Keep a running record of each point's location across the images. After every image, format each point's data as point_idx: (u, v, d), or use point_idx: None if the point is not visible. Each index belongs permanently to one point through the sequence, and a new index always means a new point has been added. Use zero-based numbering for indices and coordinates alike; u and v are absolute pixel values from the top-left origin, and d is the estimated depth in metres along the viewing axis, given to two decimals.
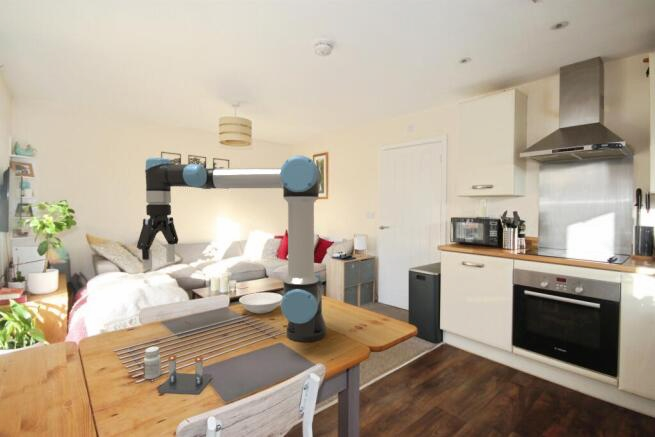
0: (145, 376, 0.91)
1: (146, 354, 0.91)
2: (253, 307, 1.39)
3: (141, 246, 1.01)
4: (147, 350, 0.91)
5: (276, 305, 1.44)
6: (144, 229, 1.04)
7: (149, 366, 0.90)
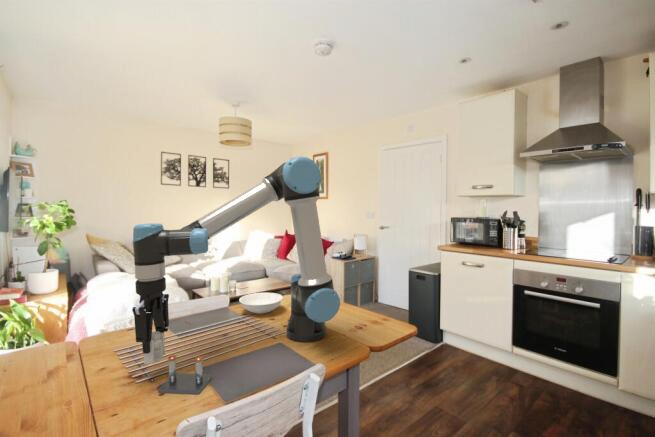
0: None
1: None
2: (253, 307, 1.39)
3: (141, 341, 0.86)
4: None
5: (276, 305, 1.44)
6: (137, 320, 0.86)
7: None
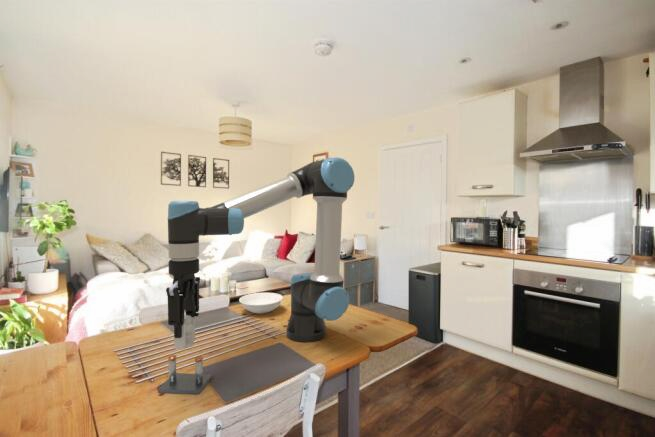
0: None
1: None
2: (253, 307, 1.39)
3: (174, 324, 0.81)
4: None
5: (276, 305, 1.44)
6: (171, 302, 0.81)
7: None
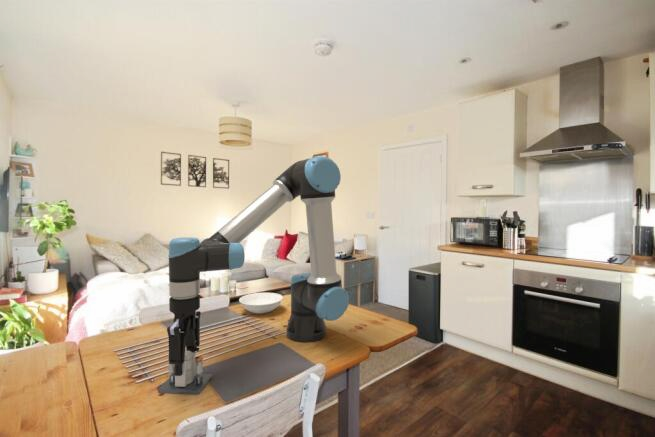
0: None
1: None
2: (253, 307, 1.39)
3: (174, 363, 0.82)
4: None
5: (276, 305, 1.44)
6: (172, 341, 0.81)
7: None
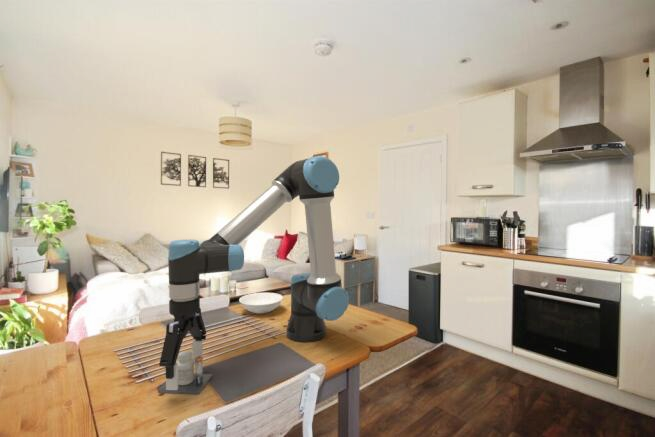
0: (178, 382, 0.86)
1: (179, 359, 0.86)
2: (253, 307, 1.39)
3: (165, 364, 0.77)
4: (180, 354, 0.87)
5: (276, 305, 1.44)
6: (168, 339, 0.80)
7: (183, 371, 0.85)
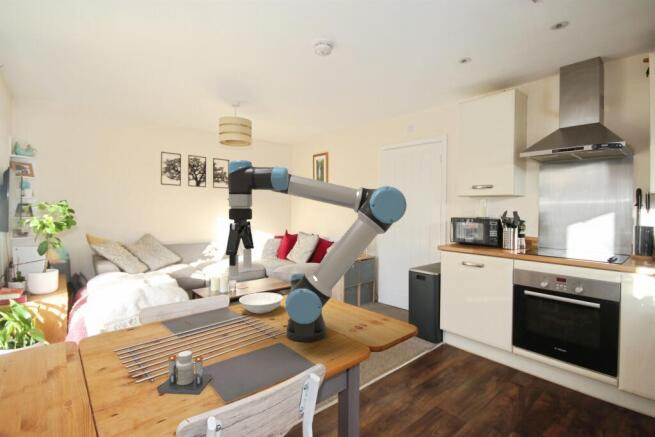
0: (178, 382, 0.86)
1: (179, 359, 0.86)
2: (253, 307, 1.39)
3: (230, 252, 0.98)
4: (180, 354, 0.87)
5: (276, 305, 1.44)
6: (231, 234, 1.00)
7: (183, 371, 0.85)
